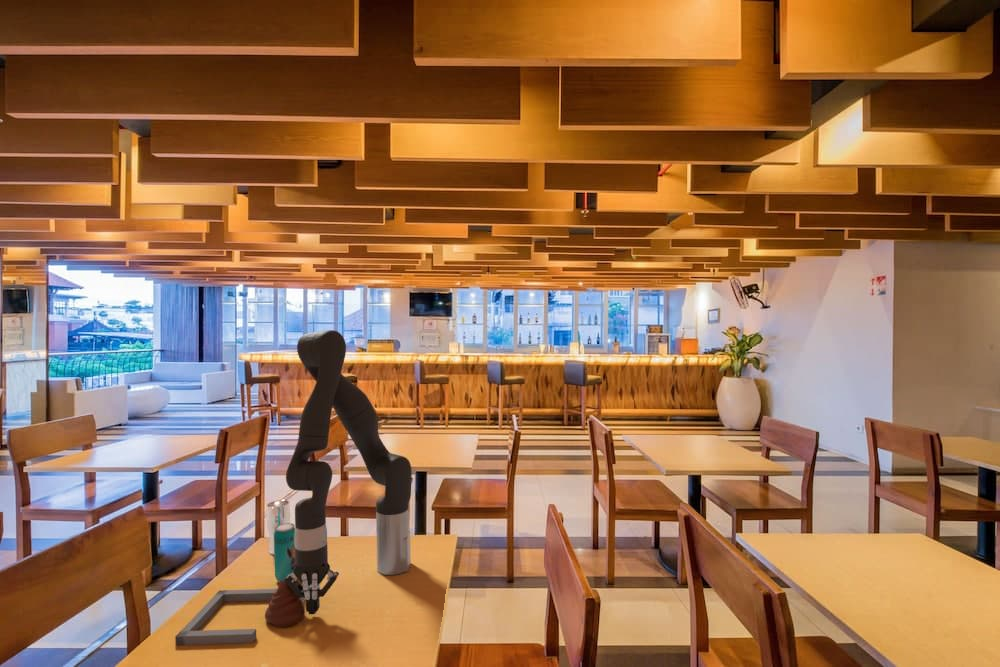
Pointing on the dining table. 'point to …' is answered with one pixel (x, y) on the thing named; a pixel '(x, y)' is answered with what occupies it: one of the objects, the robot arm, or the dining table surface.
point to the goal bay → (195, 637)
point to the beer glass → (276, 518)
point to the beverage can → (284, 550)
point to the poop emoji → (285, 607)
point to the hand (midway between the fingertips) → (312, 612)
